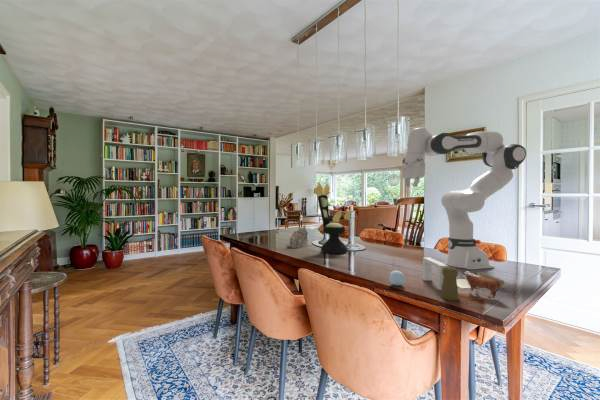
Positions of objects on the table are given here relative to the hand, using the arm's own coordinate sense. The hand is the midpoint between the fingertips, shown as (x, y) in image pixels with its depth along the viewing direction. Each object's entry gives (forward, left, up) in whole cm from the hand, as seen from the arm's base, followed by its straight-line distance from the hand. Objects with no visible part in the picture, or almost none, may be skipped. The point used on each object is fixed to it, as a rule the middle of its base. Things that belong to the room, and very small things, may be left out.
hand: (411, 187), depth 156 cm
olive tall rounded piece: (+4, +45, -41) cm, 61 cm away
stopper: (-22, +30, -41) cm, 55 cm away
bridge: (+2, +30, -41) cm, 51 cm away
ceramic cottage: (+55, -64, -41) cm, 94 cm away
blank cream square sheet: (-12, +30, -41) cm, 52 cm away
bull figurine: (-8, +44, -41) cm, 60 cm away
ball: (+18, +30, -38) cm, 51 cm away
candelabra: (+34, -40, -41) cm, 67 cm away
